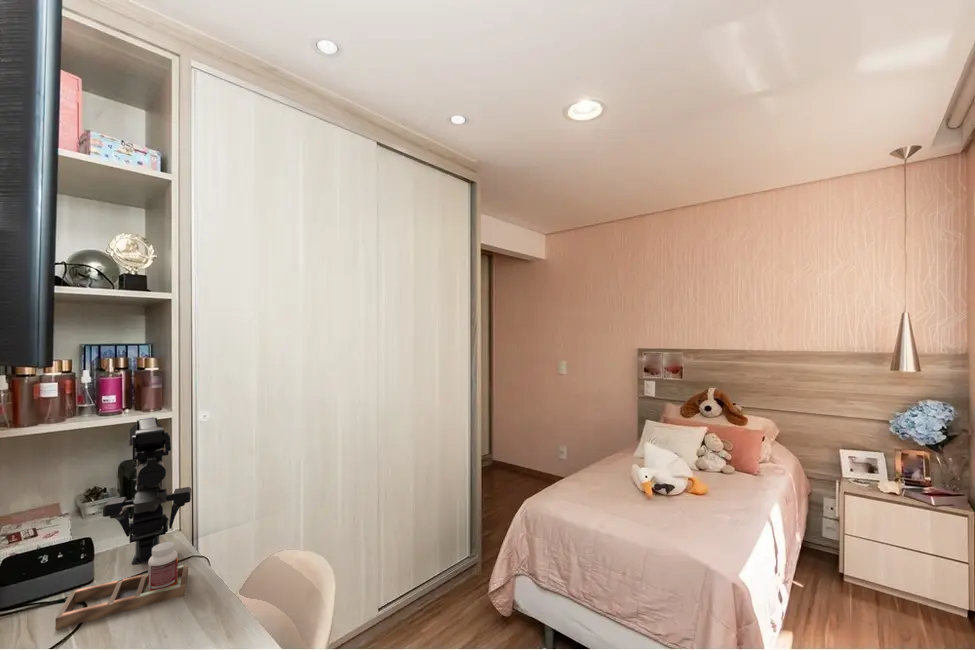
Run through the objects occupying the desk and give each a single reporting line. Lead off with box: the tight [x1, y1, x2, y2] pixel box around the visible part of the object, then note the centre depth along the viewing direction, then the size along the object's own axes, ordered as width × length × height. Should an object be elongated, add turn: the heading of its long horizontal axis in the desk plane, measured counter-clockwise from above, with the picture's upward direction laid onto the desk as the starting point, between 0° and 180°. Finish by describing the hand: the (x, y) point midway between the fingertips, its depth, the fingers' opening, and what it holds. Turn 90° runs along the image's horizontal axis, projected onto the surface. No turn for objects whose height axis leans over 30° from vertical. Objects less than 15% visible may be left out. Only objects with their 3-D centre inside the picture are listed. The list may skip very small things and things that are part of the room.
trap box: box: [55, 564, 189, 630], centre depth 109 cm, size 24×11×3 cm, turn 121°
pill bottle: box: [147, 541, 179, 592], centre depth 112 cm, size 6×6×11 cm
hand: (149, 532), depth 119 cm, fingers open, 9 cm apart
